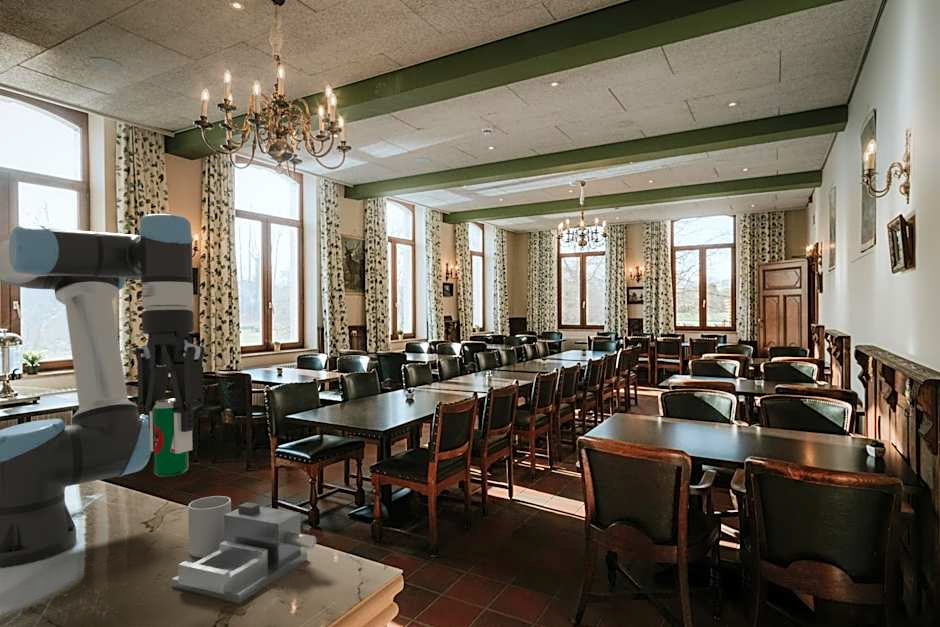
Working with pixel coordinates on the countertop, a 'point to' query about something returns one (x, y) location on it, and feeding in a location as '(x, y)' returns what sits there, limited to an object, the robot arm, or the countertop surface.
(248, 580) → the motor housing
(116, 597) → the countertop surface
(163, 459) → the soda can
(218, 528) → the cup
